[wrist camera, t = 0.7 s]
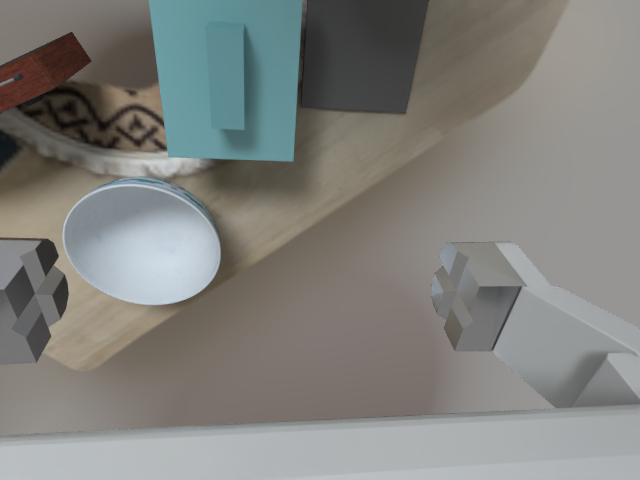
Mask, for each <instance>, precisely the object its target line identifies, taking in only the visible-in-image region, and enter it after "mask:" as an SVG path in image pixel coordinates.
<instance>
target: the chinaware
mask: <svg viewBox="0 0 640 480" xmlns="http://www.w3.org/2000/svg"><path fill="white" fill-rule="evenodd" d="M63 245H64V249H65V252H66V255H67V257H68V259H69V261H70V263H71V264H72V266H73V267H74V269H75V270H76V271H77V272H78V273H79V275H80V276H81V277H82V278H84V279H85V280H86V281H87V282H88V283H89V284H91V285H92V286H93V287H95V288H96V289H98V290H100V291H101V292H103V293H105V294H107V295H109V296H112V297H114V298H117V299H120V300H123V301H126V302H130V303H135V304H142V305H165V304H172V303H176V302H180V301H183V300H186V299H188V298H190V297H192V296H194V295H196V294H198V293H199V292H201V291H202V290H203V289H204V288H205V287H207V286H208V285H209V283H210V282H211V281H212V280H213V278H214V277H215V275H216V273H217V271H218V268H219V265H220V260H221V246H220V240H219V235H218V232H217V229H216V226H215V224H214V221H213V219H212V217H211V216H210V214H209V212H208V211H207V209H206V208H205V207H204V206H203V204H202V203H201V202H200V201H199V200H198V199H197V198H196V197H195V196H194V195H192V194H191V193H190V192H188V191H187V190H185V189H184V188H182V187H180V186H178V185H176V184H174V183H171V182H169V181H166V180H162V179H158V178H152V177H129V178H123V179H119V180H115V181H112V182H109V183H107V184H104V185H102V186H100V187H98V188H96V189H94V190H93V191H91V192H90V193H88V194H87V195H85V196H84V197H83V198H82V199H80V200H79V201H78V202H77V203H76V204H75V205H74V206H73V208H72V209H71V210H70V212H69V214H68V215H67V217H66V220H65V223H64V227H63Z"/></svg>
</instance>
